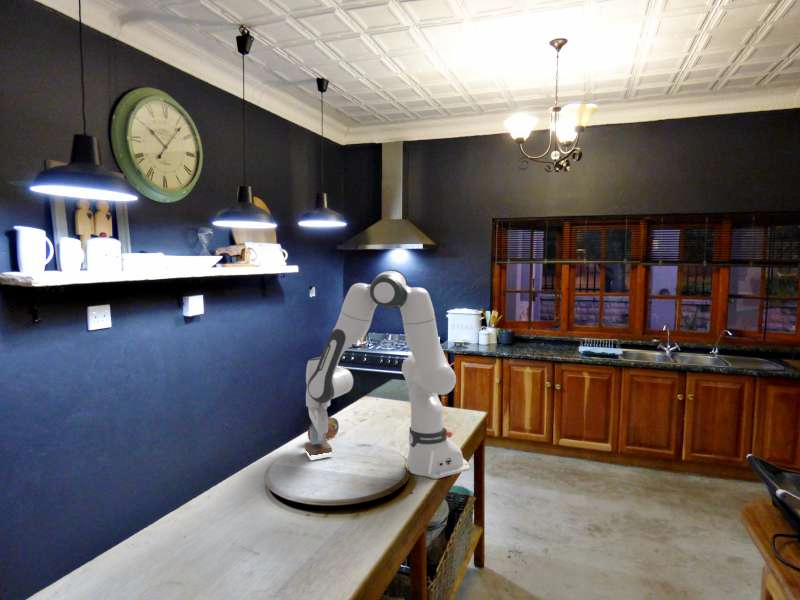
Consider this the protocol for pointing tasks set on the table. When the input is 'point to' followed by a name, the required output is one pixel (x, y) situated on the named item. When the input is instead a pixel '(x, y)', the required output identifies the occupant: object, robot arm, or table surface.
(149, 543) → the table surface
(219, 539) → the table surface
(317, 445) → the walnut block
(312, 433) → the blue cube
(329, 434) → the tin
